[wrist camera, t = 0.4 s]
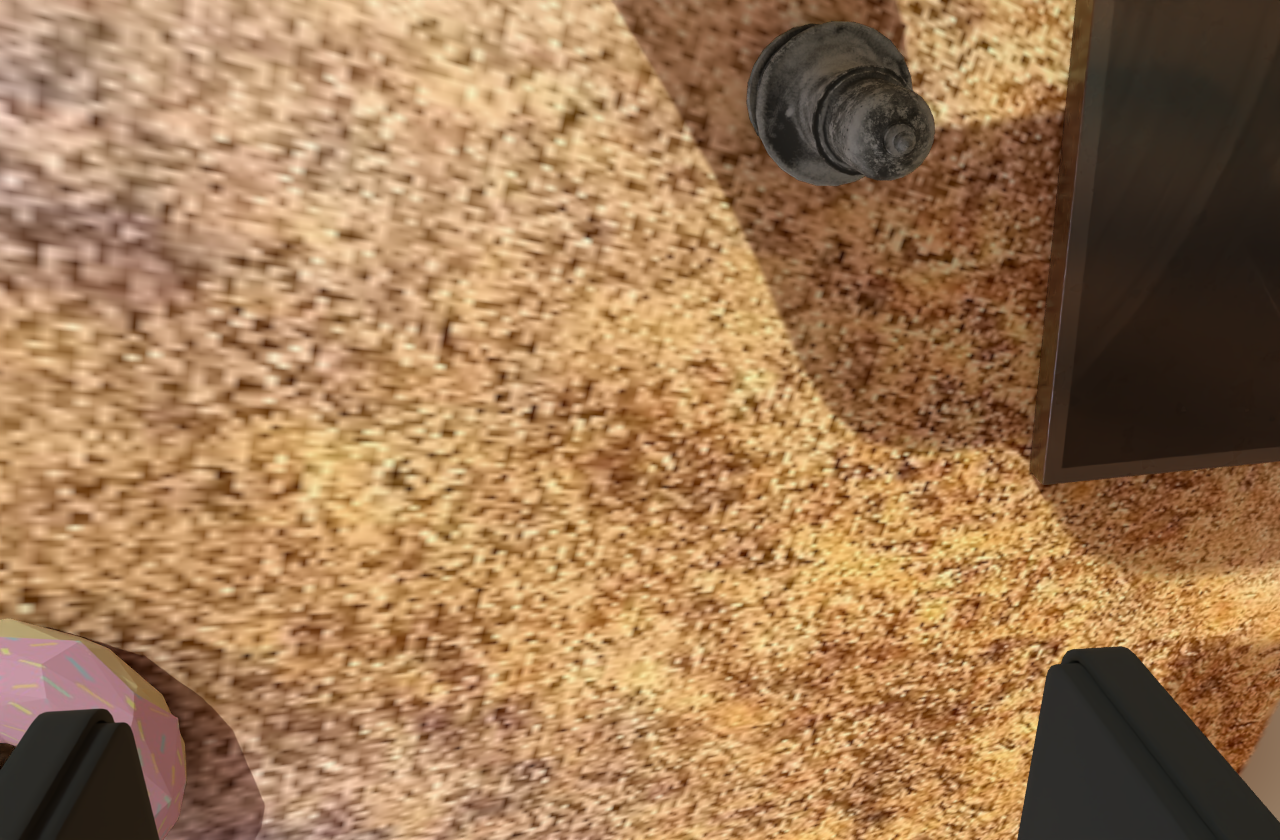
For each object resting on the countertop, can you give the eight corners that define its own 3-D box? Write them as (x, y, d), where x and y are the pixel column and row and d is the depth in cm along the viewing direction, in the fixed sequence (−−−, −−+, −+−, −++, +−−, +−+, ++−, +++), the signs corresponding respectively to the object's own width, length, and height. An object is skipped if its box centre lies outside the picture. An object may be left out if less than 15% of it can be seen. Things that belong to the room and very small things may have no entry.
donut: (-19, 538, 47) (-79, 602, 42) (265, 720, 52) (239, 794, 47) (-205, 748, 50) (-278, 827, 46) (79, 898, 55) (38, 983, 51)
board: (1078, -34, 41) (1097, -33, 40) (1446, -60, 42) (1476, -60, 41) (1028, 471, 50) (1042, 485, 49) (1332, 440, 51) (1353, 454, 50)
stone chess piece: (911, 55, 42) (1043, 92, 31) (840, 191, 44) (941, 271, 33) (781, -12, 40) (872, 3, 30) (714, 133, 42) (776, 196, 31)
